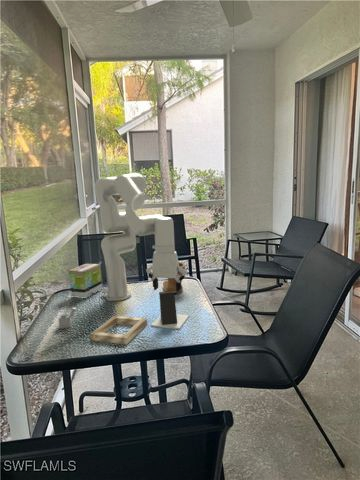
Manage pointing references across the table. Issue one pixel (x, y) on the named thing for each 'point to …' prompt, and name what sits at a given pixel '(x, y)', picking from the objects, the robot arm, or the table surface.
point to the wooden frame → (117, 338)
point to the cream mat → (178, 325)
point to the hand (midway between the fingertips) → (167, 289)
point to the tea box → (85, 280)
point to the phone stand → (168, 307)
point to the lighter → (66, 319)
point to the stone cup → (173, 282)
